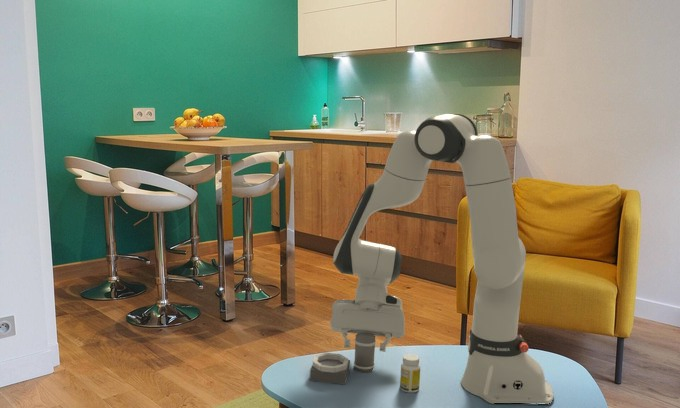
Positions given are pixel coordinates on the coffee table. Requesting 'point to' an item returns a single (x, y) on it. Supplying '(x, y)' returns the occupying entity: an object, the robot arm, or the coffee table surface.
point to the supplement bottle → (410, 373)
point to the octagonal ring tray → (330, 368)
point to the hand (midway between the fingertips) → (364, 348)
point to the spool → (364, 352)
